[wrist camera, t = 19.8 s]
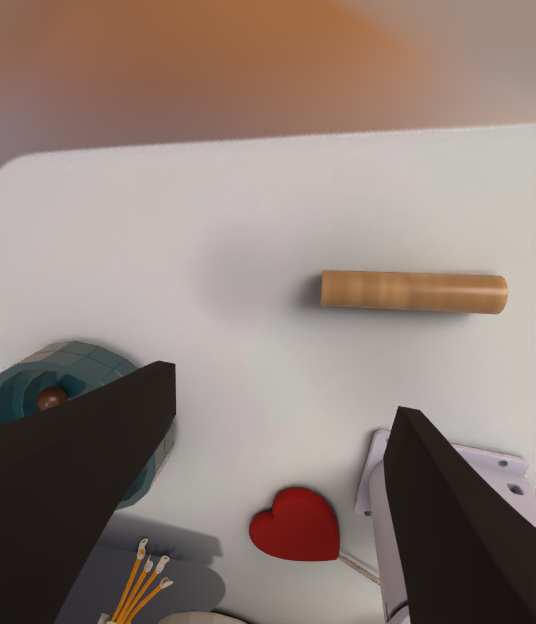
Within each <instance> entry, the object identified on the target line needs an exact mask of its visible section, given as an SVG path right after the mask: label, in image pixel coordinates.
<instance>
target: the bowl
mask: <svg viewBox="0 0 536 624" xmlns="http://www.w3.org/2000/svg"><path fill="white" fill-rule="evenodd" d="M136 370H138V368H136V367H135V366H134V365H133V364H132V363H130V362H129V361H128V360H127V359H125V358H123V357H121V356H119V355H117V354H115V353H113V352H111V351H109V350H107V349H105V348H103V347H100V346H97V345H92V344H86V343H81V342H76V341H74V342H65V343H58V344H51V345H49V346H47V347H45V348H43V349H42V350H40V351H38V352H36V353H34V354H33V355H31V356H29V357H27V358H25V359H24V360H22V361H20V362H18V363H17V364H15V365H13V366H12V367H10V368H8V369H7V370H5V371H3V372H2V373H0V424H2V423H6V422H9V421H13V420H16V419H19V418H22V417H25V416H28V415H31V414H34V413H37V412H40V411H41V410H40V409H39V408H38V406H37V397H38V395H39V394H40V393H41V392H42V391H43V390H44V389H46V388H48V387H52V386H58V387H61V388H63V389H64V390H65V391H66V392H67V394H68V401H69V400H71V399H74V398H76V397H79V396H81V395H83V394H86V393H88V392H90V391H93V390H95V389H97V388H100V387H102V386H104V385H106V384H108V383H110V382H113V381H115V380H117V379H119V378H121V377H123V376H125V375H127V374H130V373H132V372H134V371H136ZM173 444H174V423H173V421H172V423H171V425H170V427H169V429H168V431H167V432H166V434H165V436H164V438H163V440H162V442H161V443H160V445H159V446H158V448H157V449H156V451H155V452H154V454H153V455H152V457H151V458H150V459H149V461H148V462H147V464H146V465H145V467H144V468H143V470H142V471H141V473H140V474H139V475H138V477H137V478H136V480H135V481H134V483H133V484H132V486H131V487H130V489H129V490H128V491H127V493H126V494H125V496H124V497H123V499H122V500H121V502H120V503H119V505H118V506H117V508H116V509H115V510H119V509H122V508H125V507H128V506H131V505H134V504H135V503H136V502H137V501H139V500H140V499H141V498H142V497H143V496H144V495H146V494H147V493H148V492H149V490H150V488H151V487H152V485H153V483H154V482H155V480H156V478H157V477H158V475H159V473H160V472H161V470H162V468H163V467H164V465H165V463H166V462H167V459H168V457H169V455H170V452H171V450H172V447H173Z"/></svg>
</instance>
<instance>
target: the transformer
mask: <svg viewBox="0 0 536 624" xmlns="http://www.w3.org/2000/svg"><path fill="white" fill-rule="evenodd" d="M145 540H146V541H145ZM143 541H145V542H144V543H142V542H143ZM147 541H148V539H147V538H146V539H143V540H142V541H141V542H140V544H139V549H138V554H137V560H136V562H135V565H134V568H133V570H132V573H131V576H130V578H129V581H128V583H127V586H126V588H125V591H124V593H123V596H122V598H121V600H120V602H119V605H118V607H117V609H116V611H115V613H114V615H113V616H110V615H107V614H104V613H102V615H101V617H100V620H99V622H98V624H132V623H130V622H131V620H132V619H133V617H134V616H135V615H136V614H137V612H138V611H139V610H140V609H141V608H142V607H143V606H144V605H145V604H146V603H147V602H148V601H149V600H150V599H151V598H152V597H153V596H154V595H155V594H156V593H158V592H159V591H160V590H161V589H162V588H165V587H167V586H169V585H171V584H172V583H173V581H169V579H168V578H167V577H166V578H163V579H162V580H161V582H160V584H159V585H158V586H157V587H156V588H155V589H154V590H153V591H152V592H151V593H150V594H149V595H148V596H147V597H146V598H145V599H144V600H143V601H141V603H140V604H139V605H138V606H137V607H136V608H135V609H134V611H133V612H132V613H131V614H130V616H129V617H128V619H127V620H126V618H127V616H128V615H129V613H130V612H131V610H132V609H133V607H134V606H135V605H136V603H137V602H138V600H139V599H140V598H141V596H142V595H143V593H144V592H145V591H146V589H147V588H148V587H149V585H150V584H151V582H152V581H153V580H154V579H155V577H156V576H157V575H158V574H159V573H161V571H162V570H163V569H164V565H165V563H167V562H168V561H169V557H167V556H162V557H161V559H160V562H159V563H158V565H157V566H156V567H155V571H154V572H153V574H152V575H151V576H150V578H149V579H148V580H147V582H146V583H145V584H144V586H143V587H142V589H141V590H140V591H139V593H138V594H137V596H136V597H135V598H134V596H135V594H136V592H137V591H138V589H139V587H140V585H141V583H142V582H143V580H144V578H145V576H146V575H147V573H148V571H150V570H151V568H152V566H153V562H152V561H149V558H150V556H151V554H150V556H149V558H148V561H147V563H146V564H145V566H144V570H143V572H142V574H141V576H140V577H139V579H138V581H137V583H136V585H135V586H134V588H133V590H132V592H131V594H130V595H129V598H128V599H127V601H126V603H125V605H124V607H123V609H122V610H121V608H122V606H123V603H124V601H125V599H126V596H127V594H128V592H129V589H130V587H131V585H132V582H133V580H134V577H135V575H136V572H137V570H138V567H139V564H140V562H141V559H143V558H144V556H145V553H146V550H145V548H144V547H145V545H146V543H147ZM164 557H165V558H167V559H164ZM133 598H134V600H133ZM132 600H133V602H132V603H131V601H132ZM130 603H131V604H130ZM129 605H130V606H129ZM127 608H128V609H127ZM120 610H121V612H120ZM119 612H120V614H119ZM118 614H119V616H118ZM117 616H118V618H117ZM125 620H126V621H125Z"/></svg>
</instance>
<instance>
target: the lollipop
mask: <svg viewBox="0 0 536 624" xmlns="http://www.w3.org/2000/svg"><path fill="white" fill-rule="evenodd" d="M249 535H250V538H251V540H252V542H253V543H254V545H255V546H256V547H257V548H259V549H260V550H261V551H263V552H265V553H266V554H269V555H271V556H274V557H278V558H282V559H286V560H293V561H329V560H336V559H337V558H338V559H339V560H341V561H343V562H344V563H346V564H347V565H349V566H350V567H352V568H354V569H355V570H357V571H358V572H360V573H361V574H363V575H365V576H366V577H368V578H369V579H371V580H372V581H374V582H376V583H377V584H379V585H380V579H378V578H377V577H375V576H374V575H372V574H371V573H369V572H367V571H366V570H364V569H363V568H361V567H360V566H358V565H356V564H355V563H353V562H352V561H350V560H349V559H347V558H345V557H344V556H342V555H341V554H339V548H340V536H339V529H338V525H337V521H336V518H335V515H334V513H333V511H332V510H331V508H330V506H329V505H328V504H327V502H326V501H325V500H324V499H323V498H322V497H321V496H319V495H318V494H316V493H314V492H312V491H310V490H307V489H303V488H290V489H286V490H284V491H282V492H280V493H279V494H278V495H277V496H276V497H275V499H274V501H273V505H272V512H263V513H260V514H258V515H257V516H255V517H254V518H253V520H252V521H251V523H250V526H249ZM380 586H381V585H380Z"/></svg>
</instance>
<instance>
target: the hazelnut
mask: <svg viewBox="0 0 536 624" xmlns="http://www.w3.org/2000/svg"><path fill="white" fill-rule="evenodd" d="M67 401H68V394H67V392H66V391H65V390H64V389H63V388H61V387H58V386H52V387H48V388H46V389H44V390H43V391H42V392H41V393H40V394H39V395H38V397H37V406H38V408H39V409H40V410H41V411H43V410H46V409H48V408H51V407H54V406H56V405H59V404H62V403H64V402H67Z"/></svg>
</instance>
